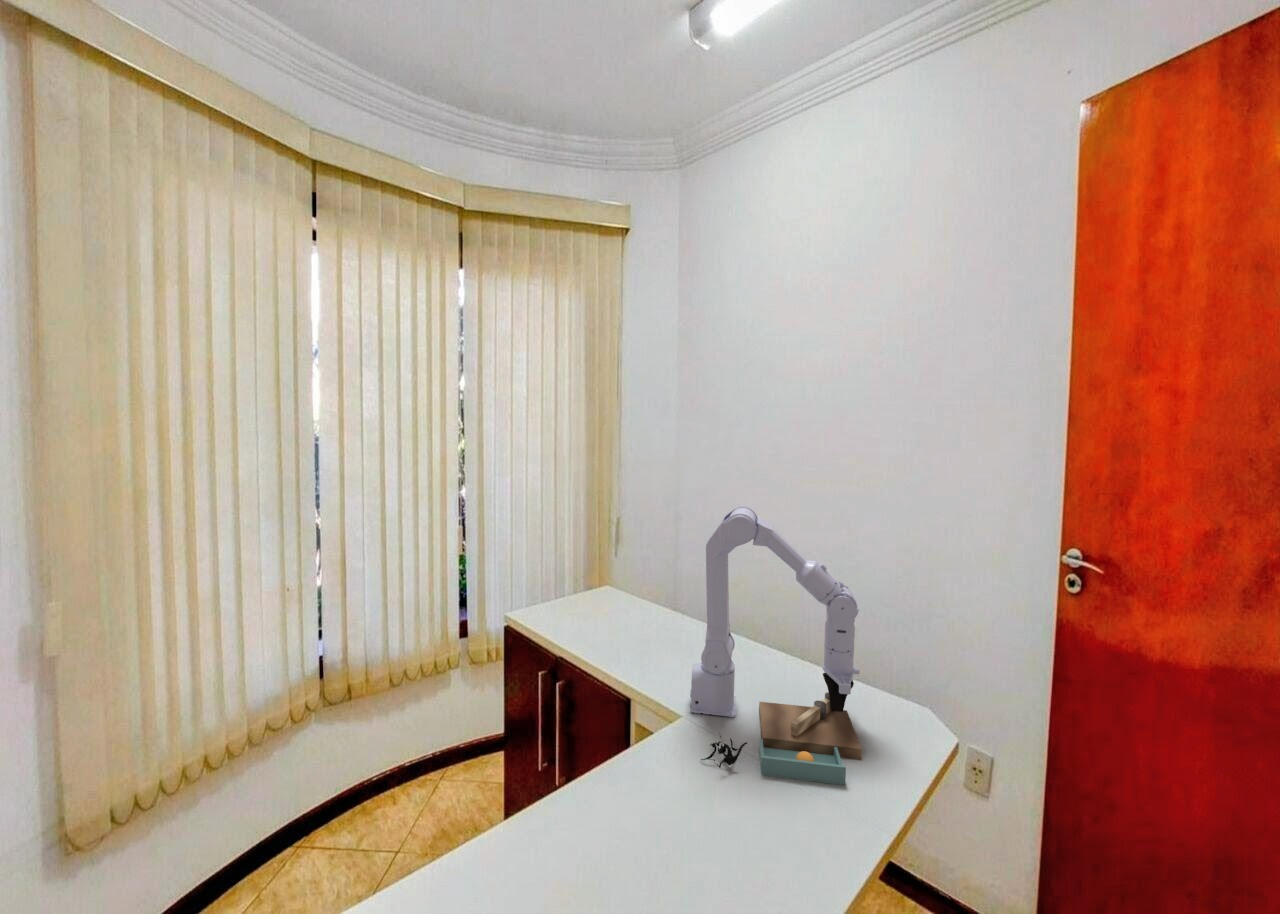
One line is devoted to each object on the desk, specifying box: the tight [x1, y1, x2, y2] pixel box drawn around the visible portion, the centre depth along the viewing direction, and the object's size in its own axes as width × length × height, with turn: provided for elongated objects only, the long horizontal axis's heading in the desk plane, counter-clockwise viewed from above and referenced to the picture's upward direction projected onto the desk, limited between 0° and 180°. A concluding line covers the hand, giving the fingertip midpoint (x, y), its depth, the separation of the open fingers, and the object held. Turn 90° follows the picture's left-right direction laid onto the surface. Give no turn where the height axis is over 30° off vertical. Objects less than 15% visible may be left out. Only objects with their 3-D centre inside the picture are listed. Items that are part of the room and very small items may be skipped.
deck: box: [758, 701, 863, 760], centre depth 106 cm, size 18×13×2 cm
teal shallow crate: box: [758, 737, 847, 786], centre depth 96 cm, size 14×8×3 cm, turn 80°
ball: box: [796, 751, 814, 762], centre depth 94 cm, size 3×3×3 cm
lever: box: [791, 691, 832, 737], centre depth 106 cm, size 15×2×3 cm, turn 133°
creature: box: [700, 732, 748, 768], centre depth 97 cm, size 8×5×8 cm
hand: (836, 710), depth 109 cm, fingers closed, pressing on lever
